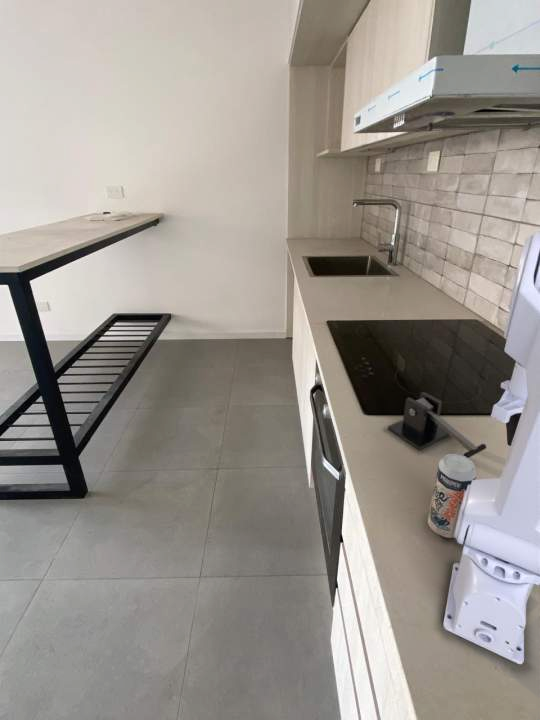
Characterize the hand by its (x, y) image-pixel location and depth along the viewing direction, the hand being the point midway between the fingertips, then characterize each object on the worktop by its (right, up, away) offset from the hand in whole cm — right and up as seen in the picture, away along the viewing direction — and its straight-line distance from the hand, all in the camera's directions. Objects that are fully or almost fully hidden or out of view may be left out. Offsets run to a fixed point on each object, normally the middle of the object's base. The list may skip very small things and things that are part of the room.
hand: (516, 446), depth 59 cm
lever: (-4, 0, +15) cm, 16 cm away
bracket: (-7, -2, +21) cm, 22 cm away
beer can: (-11, -12, 0) cm, 16 cm away
